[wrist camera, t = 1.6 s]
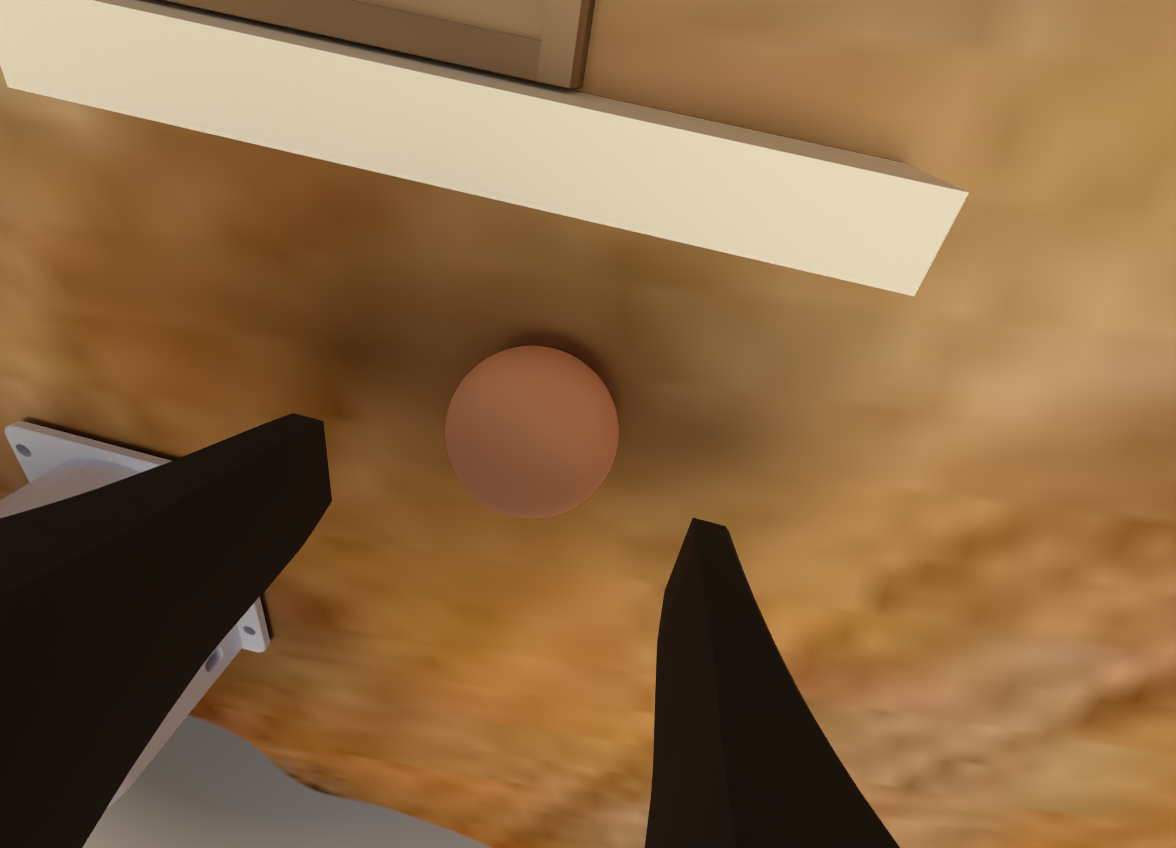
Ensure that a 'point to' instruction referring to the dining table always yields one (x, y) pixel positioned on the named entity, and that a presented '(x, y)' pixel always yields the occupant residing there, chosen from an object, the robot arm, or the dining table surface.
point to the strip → (488, 135)
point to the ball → (531, 432)
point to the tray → (446, 30)
